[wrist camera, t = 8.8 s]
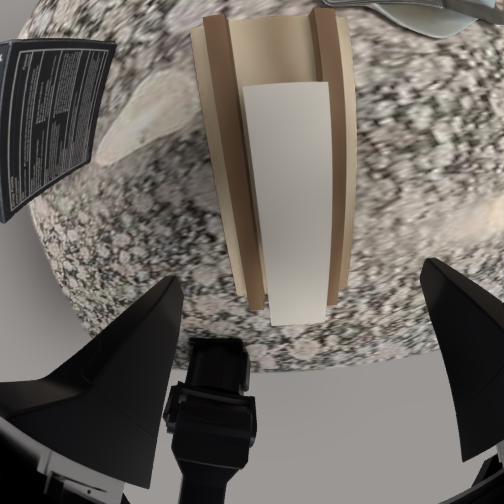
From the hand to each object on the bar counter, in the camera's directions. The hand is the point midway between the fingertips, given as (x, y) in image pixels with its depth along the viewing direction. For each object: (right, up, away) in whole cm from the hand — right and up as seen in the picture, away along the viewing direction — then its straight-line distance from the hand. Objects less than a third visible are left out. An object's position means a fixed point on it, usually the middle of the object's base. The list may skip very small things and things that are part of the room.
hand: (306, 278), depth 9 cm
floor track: (0, +7, +10) cm, 12 cm away
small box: (-16, +13, +7) cm, 22 cm away
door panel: (0, +6, +9) cm, 11 cm away
